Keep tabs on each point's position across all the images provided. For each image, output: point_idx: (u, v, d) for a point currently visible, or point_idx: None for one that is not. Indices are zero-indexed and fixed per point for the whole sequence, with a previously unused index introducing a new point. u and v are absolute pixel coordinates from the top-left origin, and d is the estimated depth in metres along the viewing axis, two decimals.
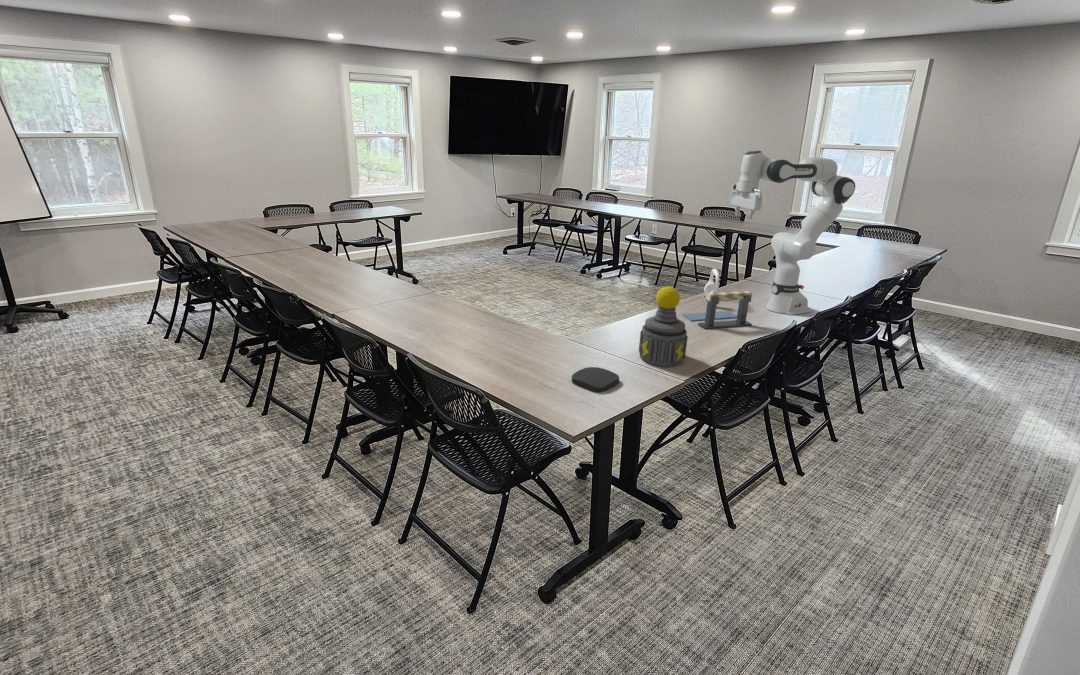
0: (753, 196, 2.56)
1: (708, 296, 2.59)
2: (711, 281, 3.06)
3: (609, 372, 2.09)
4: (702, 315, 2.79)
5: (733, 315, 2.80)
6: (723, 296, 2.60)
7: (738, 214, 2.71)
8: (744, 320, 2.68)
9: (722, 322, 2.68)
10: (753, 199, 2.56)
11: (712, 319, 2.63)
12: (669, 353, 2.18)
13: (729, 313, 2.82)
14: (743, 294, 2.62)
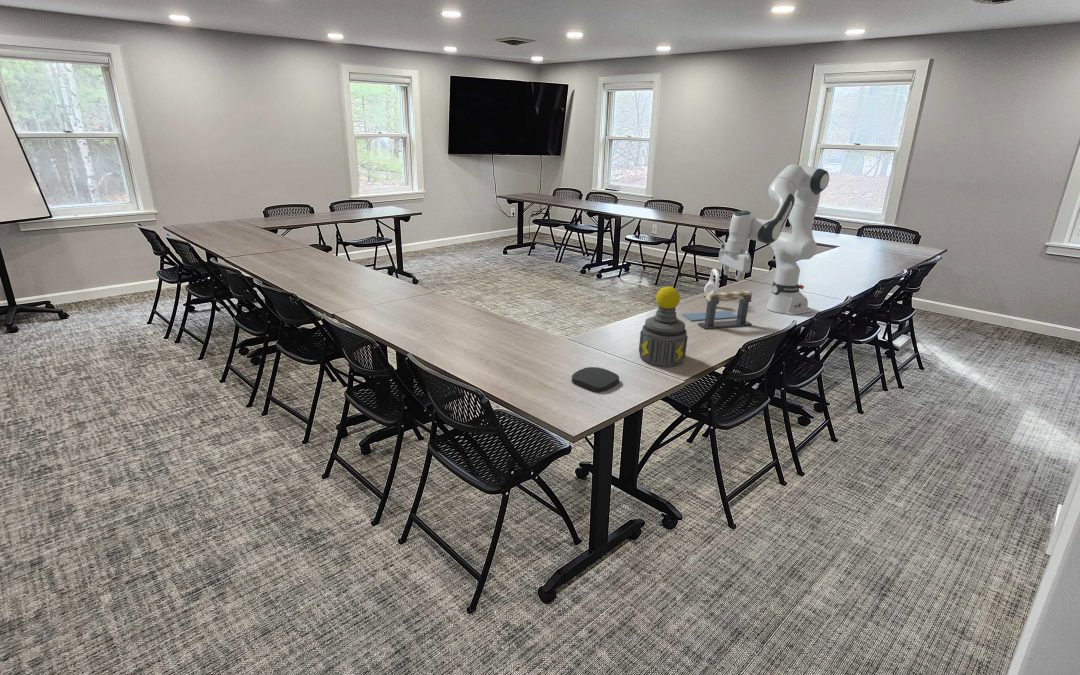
0: (741, 258, 2.48)
1: (708, 296, 2.59)
2: (711, 281, 3.06)
3: (609, 372, 2.09)
4: (702, 315, 2.79)
5: (733, 315, 2.80)
6: (723, 296, 2.60)
7: (726, 273, 2.62)
8: (744, 320, 2.68)
9: (722, 322, 2.68)
10: (742, 261, 2.48)
11: (712, 319, 2.63)
12: (669, 353, 2.18)
13: (729, 313, 2.82)
14: (743, 294, 2.62)
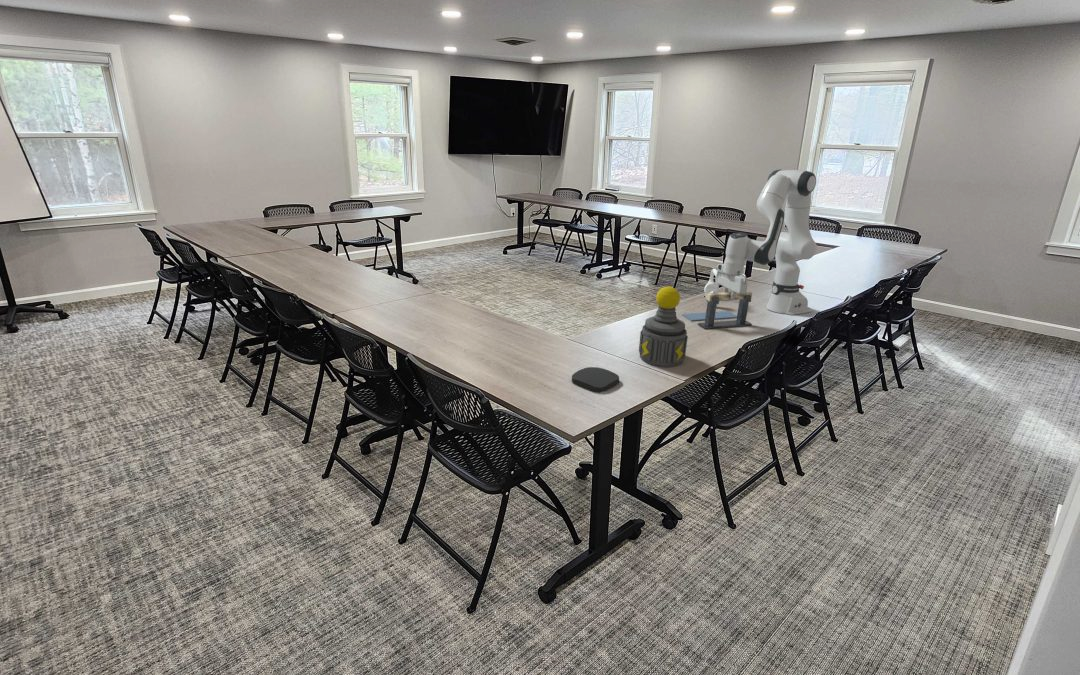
0: (738, 280, 2.51)
1: (708, 296, 2.59)
2: (711, 281, 3.06)
3: (609, 372, 2.09)
4: (702, 315, 2.79)
5: (733, 315, 2.80)
6: (723, 296, 2.60)
7: None
8: (744, 320, 2.68)
9: (722, 322, 2.68)
10: (738, 283, 2.52)
11: (712, 319, 2.63)
12: (669, 353, 2.18)
13: (729, 313, 2.82)
14: (743, 294, 2.62)
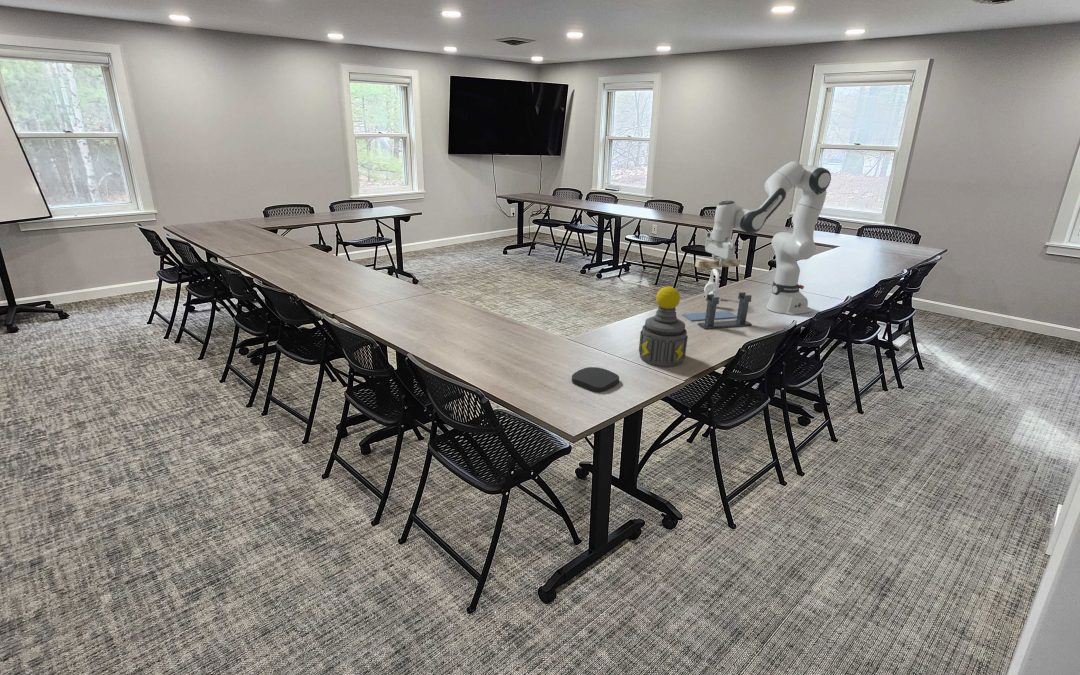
0: (726, 246, 2.59)
1: (697, 263, 2.66)
2: (711, 281, 3.06)
3: (609, 372, 2.09)
4: (702, 315, 2.79)
5: (733, 315, 2.80)
6: (712, 262, 2.67)
7: None
8: (744, 320, 2.68)
9: (722, 322, 2.68)
10: (726, 249, 2.59)
11: (712, 319, 2.63)
12: (669, 353, 2.18)
13: (729, 313, 2.82)
14: (731, 261, 2.69)
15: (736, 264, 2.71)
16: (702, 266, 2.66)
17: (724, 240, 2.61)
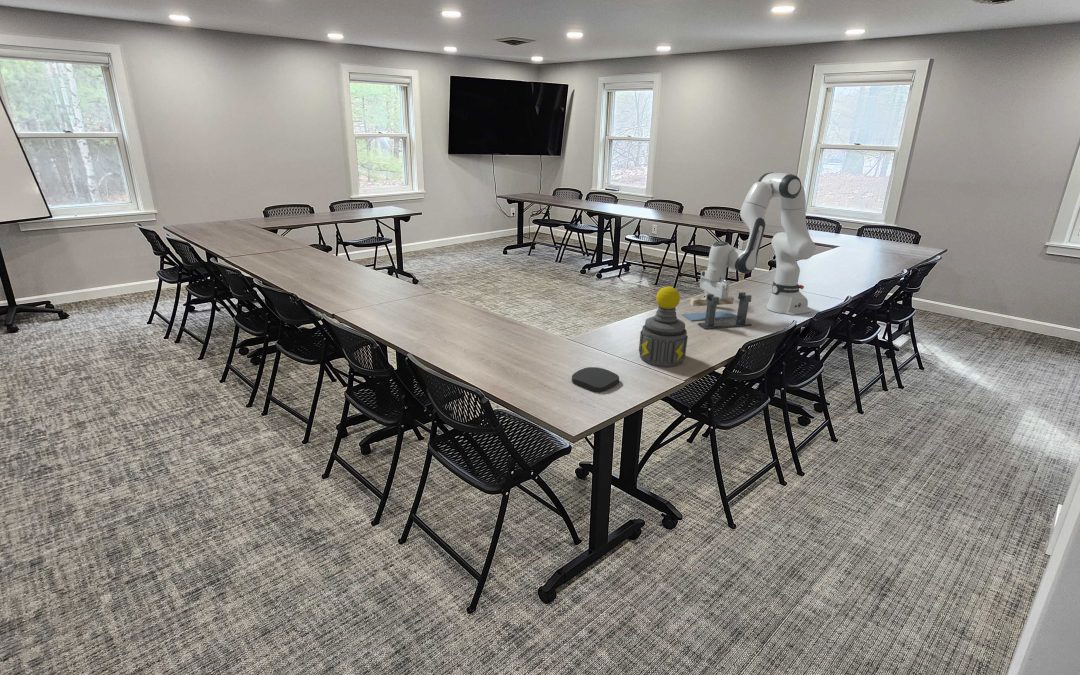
0: (720, 286, 2.65)
1: (692, 301, 2.73)
2: None
3: (609, 372, 2.09)
4: (702, 315, 2.79)
5: (733, 315, 2.80)
6: (706, 301, 2.74)
7: None
8: (744, 320, 2.68)
9: (722, 322, 2.68)
10: (720, 289, 2.66)
11: (712, 319, 2.63)
12: (669, 353, 2.18)
13: (729, 313, 2.82)
14: (725, 299, 2.76)
15: (730, 302, 2.77)
16: (697, 304, 2.73)
17: (718, 280, 2.68)
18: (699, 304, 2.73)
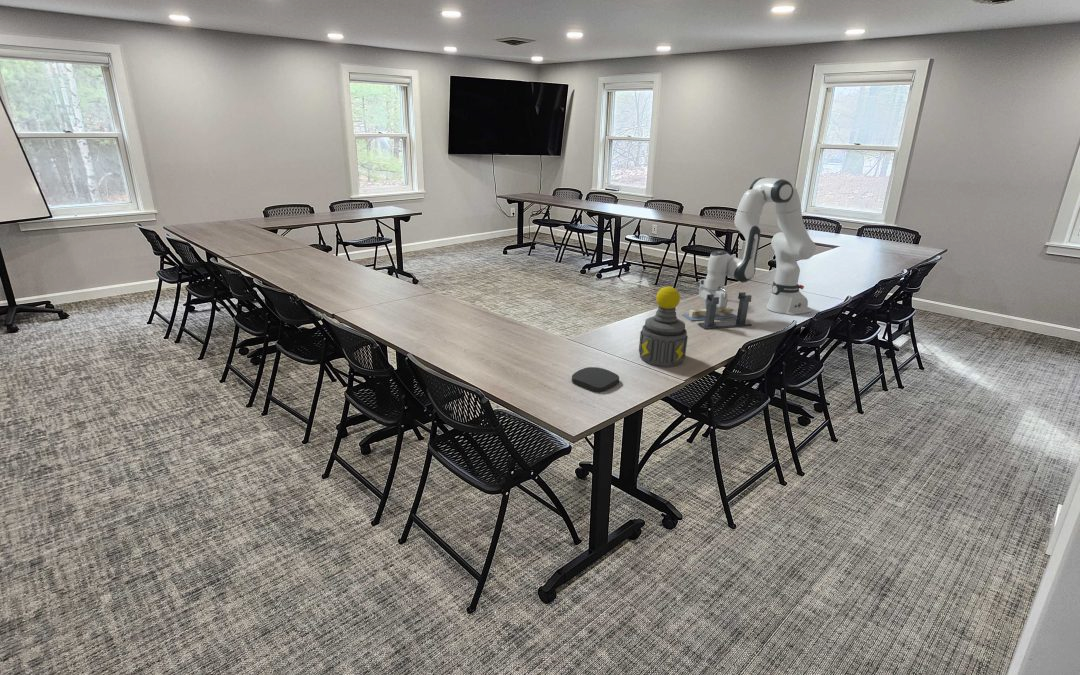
0: (719, 295, 2.67)
1: (690, 313, 2.75)
2: None
3: (609, 372, 2.09)
4: None
5: (733, 315, 2.80)
6: (705, 312, 2.76)
7: None
8: (744, 320, 2.68)
9: (722, 322, 2.68)
10: (719, 298, 2.67)
11: (712, 319, 2.63)
12: (669, 353, 2.18)
13: None
14: (724, 311, 2.78)
15: (729, 313, 2.80)
16: (695, 316, 2.75)
17: (717, 289, 2.70)
18: (698, 316, 2.75)
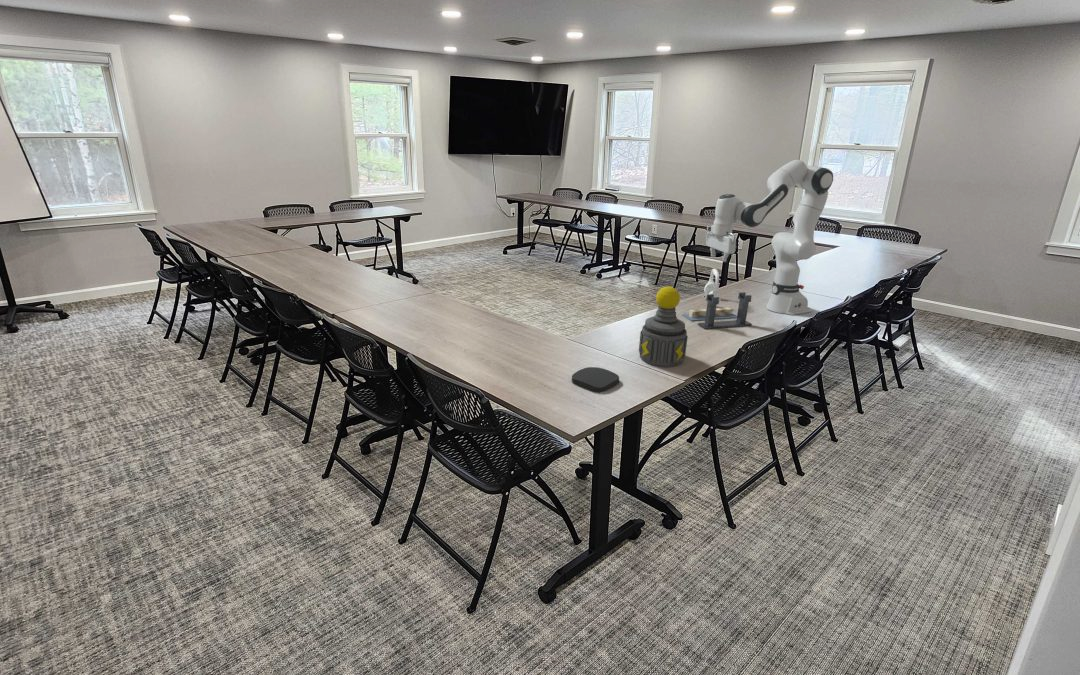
0: (727, 240, 2.58)
1: (690, 313, 2.75)
2: (711, 281, 3.06)
3: (609, 372, 2.09)
4: None
5: (733, 315, 2.80)
6: (705, 312, 2.76)
7: (713, 255, 2.72)
8: (744, 320, 2.68)
9: (722, 322, 2.68)
10: (727, 243, 2.58)
11: (712, 319, 2.63)
12: (669, 353, 2.18)
13: None
14: (724, 311, 2.78)
15: (729, 313, 2.80)
16: (695, 316, 2.75)
17: (725, 234, 2.60)
18: (698, 316, 2.75)
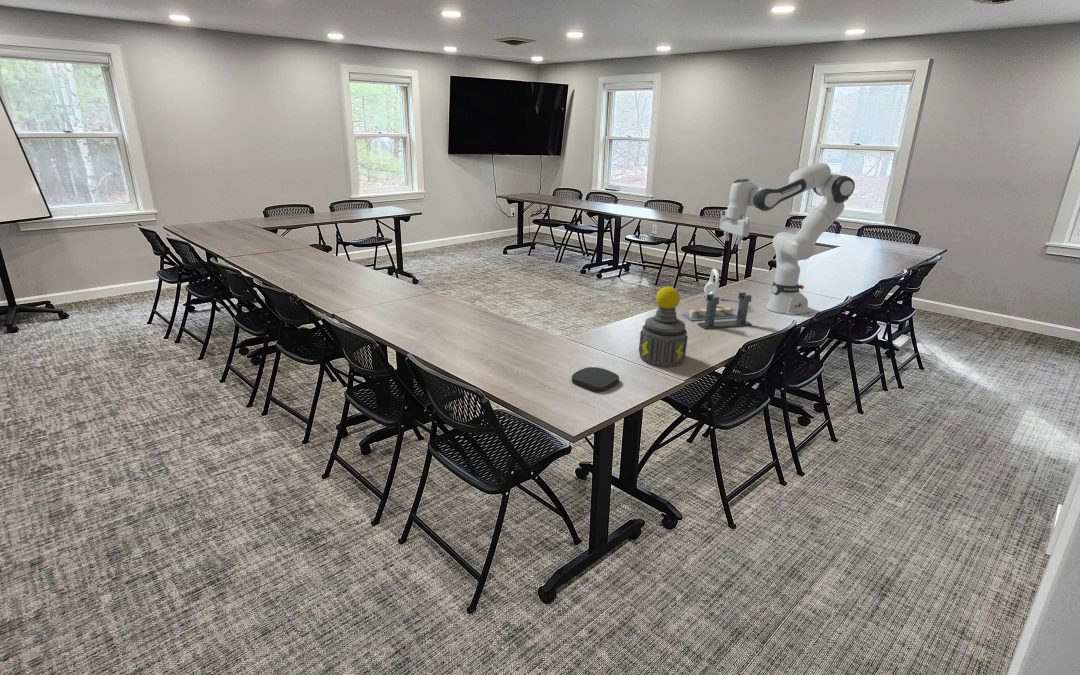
0: (741, 223, 2.64)
1: (690, 313, 2.75)
2: (711, 281, 3.06)
3: (609, 372, 2.09)
4: None
5: (733, 315, 2.80)
6: (705, 312, 2.76)
7: (727, 239, 2.79)
8: (744, 320, 2.68)
9: (722, 322, 2.68)
10: (741, 226, 2.64)
11: (712, 319, 2.63)
12: (669, 353, 2.18)
13: None
14: (724, 311, 2.78)
15: (729, 313, 2.80)
16: (695, 316, 2.75)
17: (739, 217, 2.67)
18: (698, 316, 2.75)
